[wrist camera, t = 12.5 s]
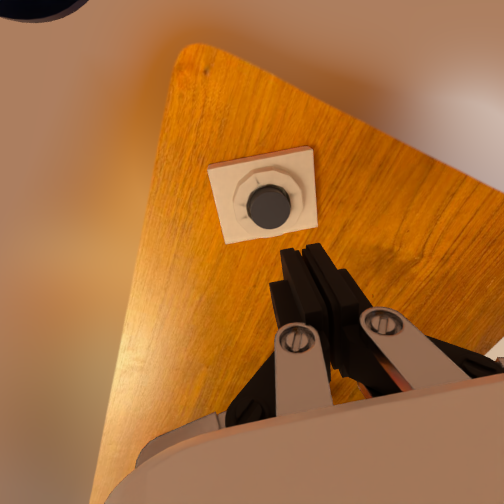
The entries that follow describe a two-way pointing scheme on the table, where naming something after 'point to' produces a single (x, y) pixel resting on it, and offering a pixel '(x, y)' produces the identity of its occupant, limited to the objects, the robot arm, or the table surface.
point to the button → (269, 207)
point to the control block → (255, 177)
